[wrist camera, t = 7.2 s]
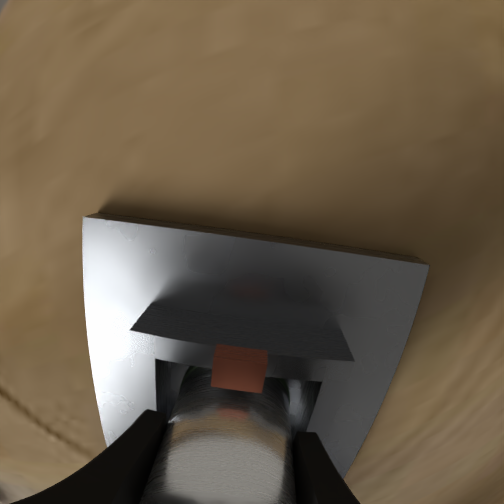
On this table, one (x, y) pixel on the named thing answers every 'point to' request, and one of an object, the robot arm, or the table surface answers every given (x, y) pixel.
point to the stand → (244, 322)
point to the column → (225, 446)
